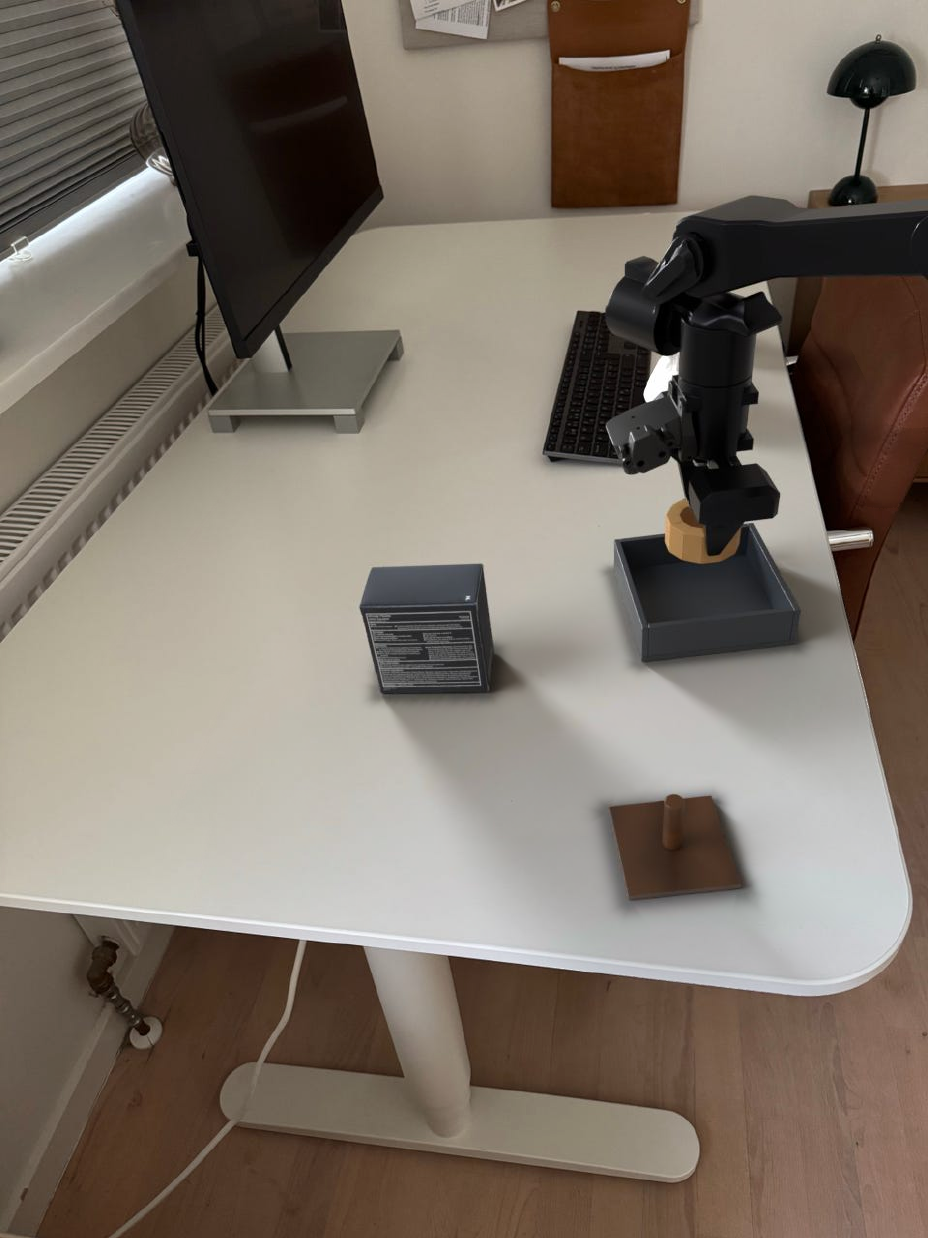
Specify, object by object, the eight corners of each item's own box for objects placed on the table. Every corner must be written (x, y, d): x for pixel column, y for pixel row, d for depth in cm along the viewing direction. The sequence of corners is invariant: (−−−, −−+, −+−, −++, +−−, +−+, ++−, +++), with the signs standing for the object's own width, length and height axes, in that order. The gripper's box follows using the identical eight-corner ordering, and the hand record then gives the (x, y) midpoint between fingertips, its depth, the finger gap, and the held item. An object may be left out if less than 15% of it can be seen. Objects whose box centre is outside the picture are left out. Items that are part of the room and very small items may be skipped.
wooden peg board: (711, 799, 70) (715, 752, 66) (740, 888, 63) (747, 841, 60) (609, 811, 70) (608, 764, 66) (628, 900, 64) (629, 854, 60)
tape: (726, 519, 84) (729, 492, 82) (747, 558, 79) (750, 530, 77) (659, 527, 84) (660, 500, 82) (675, 567, 79) (676, 539, 77)
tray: (749, 555, 93) (753, 522, 90) (795, 644, 82) (801, 610, 79) (613, 571, 93) (613, 539, 91) (641, 662, 82) (642, 628, 80)
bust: (670, 441, 117) (730, 377, 110) (624, 410, 115) (682, 342, 108) (672, 399, 126) (728, 337, 118) (629, 369, 124) (683, 304, 117)
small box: (496, 646, 86) (485, 559, 80) (490, 694, 81) (479, 605, 75) (389, 648, 88) (370, 562, 81) (378, 695, 83) (356, 607, 76)
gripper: (595, 338, 78) (597, 490, 88) (638, 440, 64) (635, 607, 74) (721, 322, 78) (710, 476, 88) (793, 421, 64) (769, 592, 74)
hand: (703, 533), depth 81 cm, fingers closed on tape, 6 cm apart
